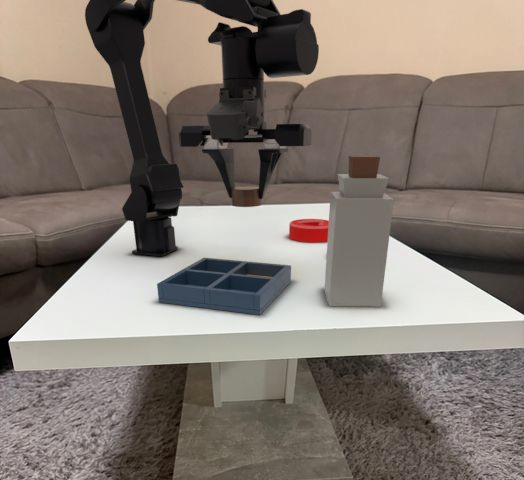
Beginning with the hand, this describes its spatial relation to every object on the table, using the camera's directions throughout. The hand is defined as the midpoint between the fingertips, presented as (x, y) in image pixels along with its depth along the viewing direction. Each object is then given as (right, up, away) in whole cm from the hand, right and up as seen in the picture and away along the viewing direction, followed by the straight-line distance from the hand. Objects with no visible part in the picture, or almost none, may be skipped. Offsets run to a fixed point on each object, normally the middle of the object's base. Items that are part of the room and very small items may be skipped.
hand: (246, 198), depth 70 cm
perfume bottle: (+15, -16, -7) cm, 23 cm away
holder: (-2, -15, -5) cm, 16 cm away
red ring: (+13, +1, +28) cm, 31 cm away
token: (0, -1, +1) cm, 1 cm away
